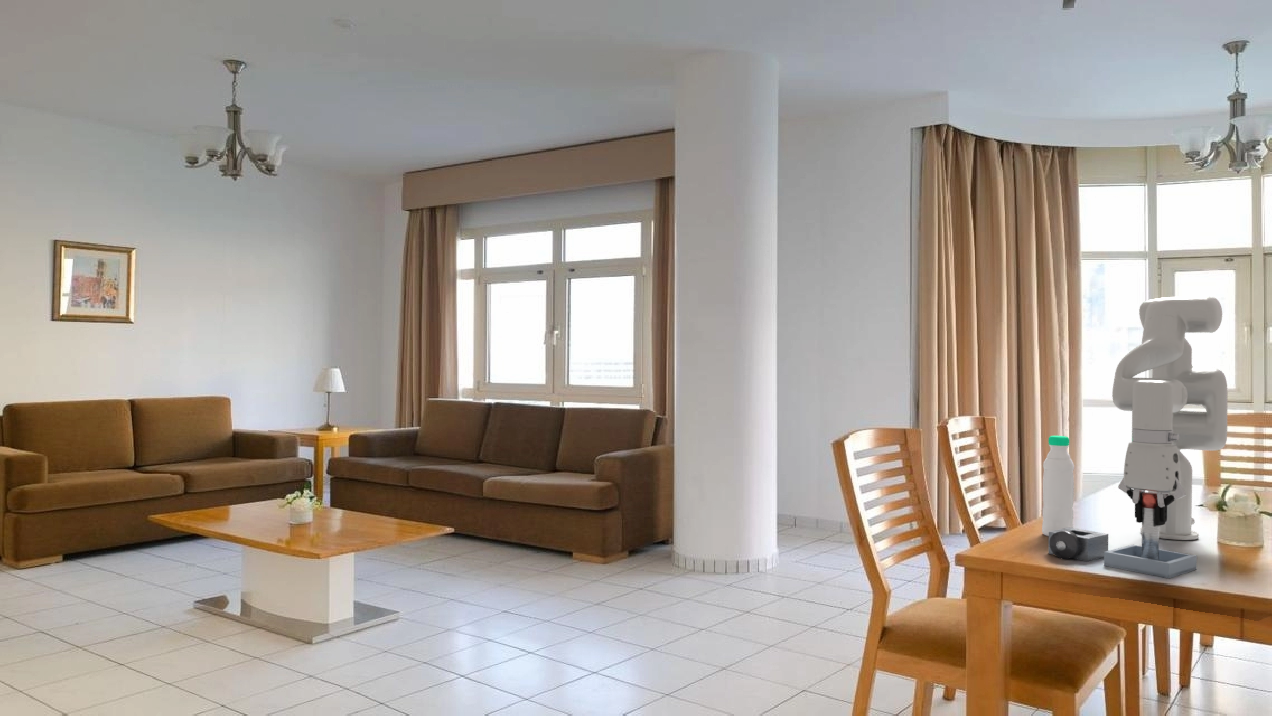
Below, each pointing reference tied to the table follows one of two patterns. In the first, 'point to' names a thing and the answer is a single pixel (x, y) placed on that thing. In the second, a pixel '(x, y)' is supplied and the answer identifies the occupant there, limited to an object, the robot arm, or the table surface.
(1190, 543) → the table surface
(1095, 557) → the tensioner block
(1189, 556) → the tray
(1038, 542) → the table surface
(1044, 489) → the water bottle
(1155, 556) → the pin
